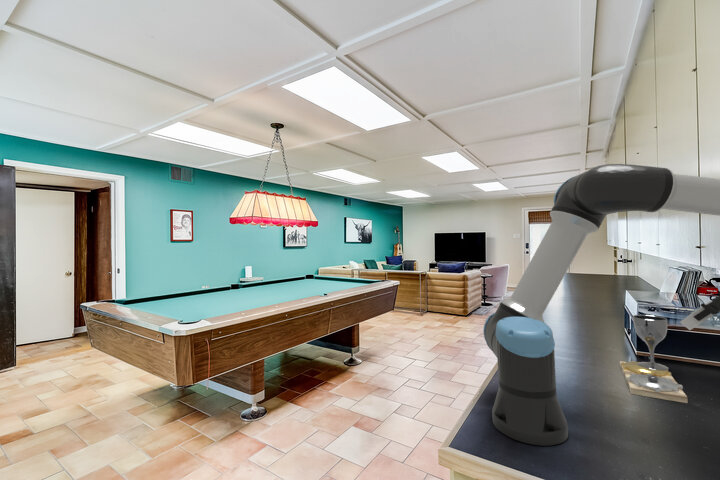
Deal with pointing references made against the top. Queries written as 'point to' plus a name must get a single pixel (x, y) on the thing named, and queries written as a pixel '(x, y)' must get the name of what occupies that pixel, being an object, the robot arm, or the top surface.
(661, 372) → the gear board
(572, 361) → the top surface
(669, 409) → the top surface
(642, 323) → the wine glass
